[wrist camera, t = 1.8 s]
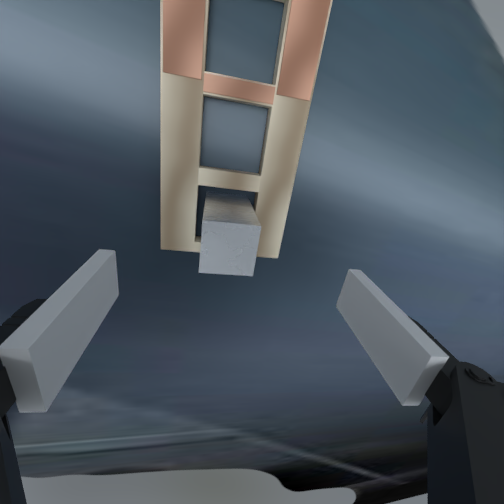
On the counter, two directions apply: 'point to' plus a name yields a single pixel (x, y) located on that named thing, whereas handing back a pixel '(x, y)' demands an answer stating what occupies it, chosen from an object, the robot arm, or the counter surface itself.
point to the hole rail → (242, 91)
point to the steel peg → (228, 235)
